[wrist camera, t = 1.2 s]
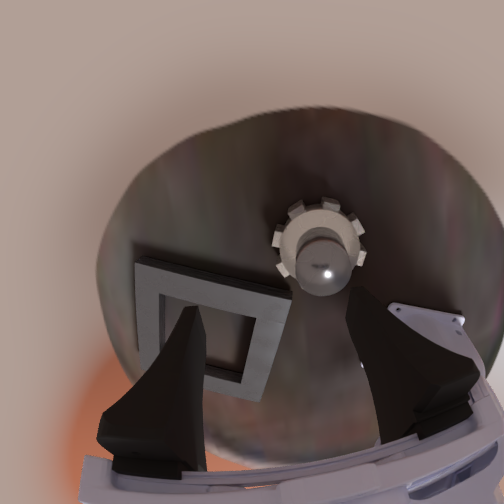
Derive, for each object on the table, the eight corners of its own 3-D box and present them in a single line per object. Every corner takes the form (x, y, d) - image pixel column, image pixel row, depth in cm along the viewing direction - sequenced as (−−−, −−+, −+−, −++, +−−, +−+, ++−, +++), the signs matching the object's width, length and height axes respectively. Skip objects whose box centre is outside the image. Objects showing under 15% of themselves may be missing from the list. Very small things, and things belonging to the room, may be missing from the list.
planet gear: (372, 209, 22) (392, 232, 17) (347, 287, 24) (356, 325, 19) (284, 187, 22) (280, 204, 17) (266, 270, 25) (258, 305, 20)
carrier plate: (292, 291, 25) (291, 300, 24) (261, 392, 31) (259, 402, 30) (142, 255, 26) (134, 262, 25) (146, 360, 32) (141, 368, 31)
